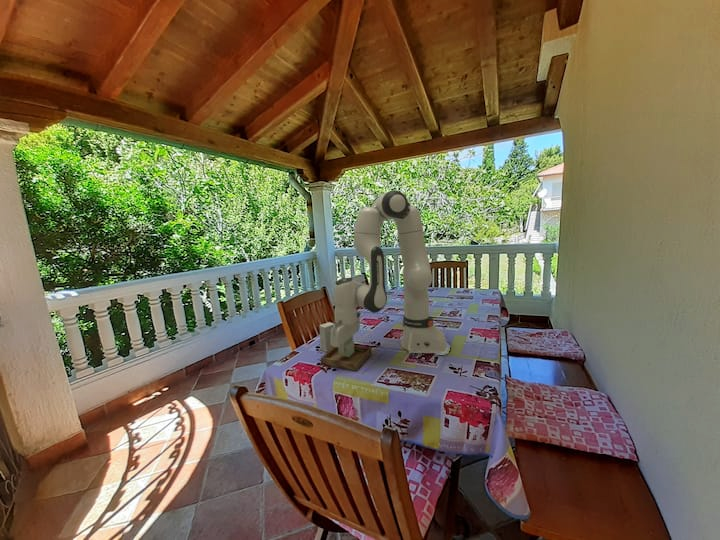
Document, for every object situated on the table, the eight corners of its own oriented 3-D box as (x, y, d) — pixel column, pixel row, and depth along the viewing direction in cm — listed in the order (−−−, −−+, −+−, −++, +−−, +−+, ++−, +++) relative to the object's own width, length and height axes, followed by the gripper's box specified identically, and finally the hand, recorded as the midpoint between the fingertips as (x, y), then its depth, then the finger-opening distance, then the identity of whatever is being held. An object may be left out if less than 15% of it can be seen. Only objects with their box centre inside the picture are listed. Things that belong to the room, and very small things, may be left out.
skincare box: (330, 345, 136) (329, 321, 134) (336, 348, 133) (335, 323, 131) (320, 350, 132) (318, 325, 130) (326, 352, 129) (324, 327, 127)
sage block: (354, 351, 123) (354, 340, 122) (349, 356, 119) (348, 345, 118) (343, 350, 125) (343, 339, 124) (338, 354, 121) (338, 343, 120)
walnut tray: (371, 354, 126) (371, 347, 126) (356, 371, 112) (356, 364, 111) (339, 348, 133) (339, 342, 132) (321, 364, 118) (320, 357, 118)
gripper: (340, 326, 109) (341, 360, 111) (362, 311, 127) (362, 340, 129) (325, 324, 111) (327, 357, 114) (349, 309, 130) (350, 338, 132)
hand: (346, 348), depth 122 cm, fingers closed on sage block, 5 cm apart
